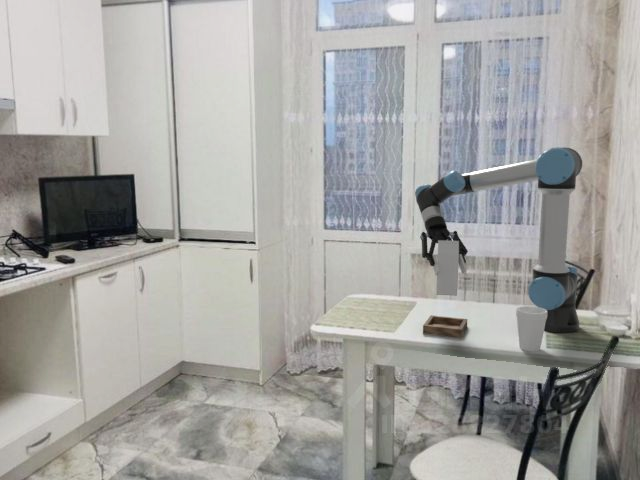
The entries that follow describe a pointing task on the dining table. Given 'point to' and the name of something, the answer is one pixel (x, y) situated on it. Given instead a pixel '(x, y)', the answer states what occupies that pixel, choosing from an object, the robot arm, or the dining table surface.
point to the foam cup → (531, 327)
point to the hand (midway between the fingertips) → (451, 272)
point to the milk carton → (448, 267)
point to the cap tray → (445, 326)
